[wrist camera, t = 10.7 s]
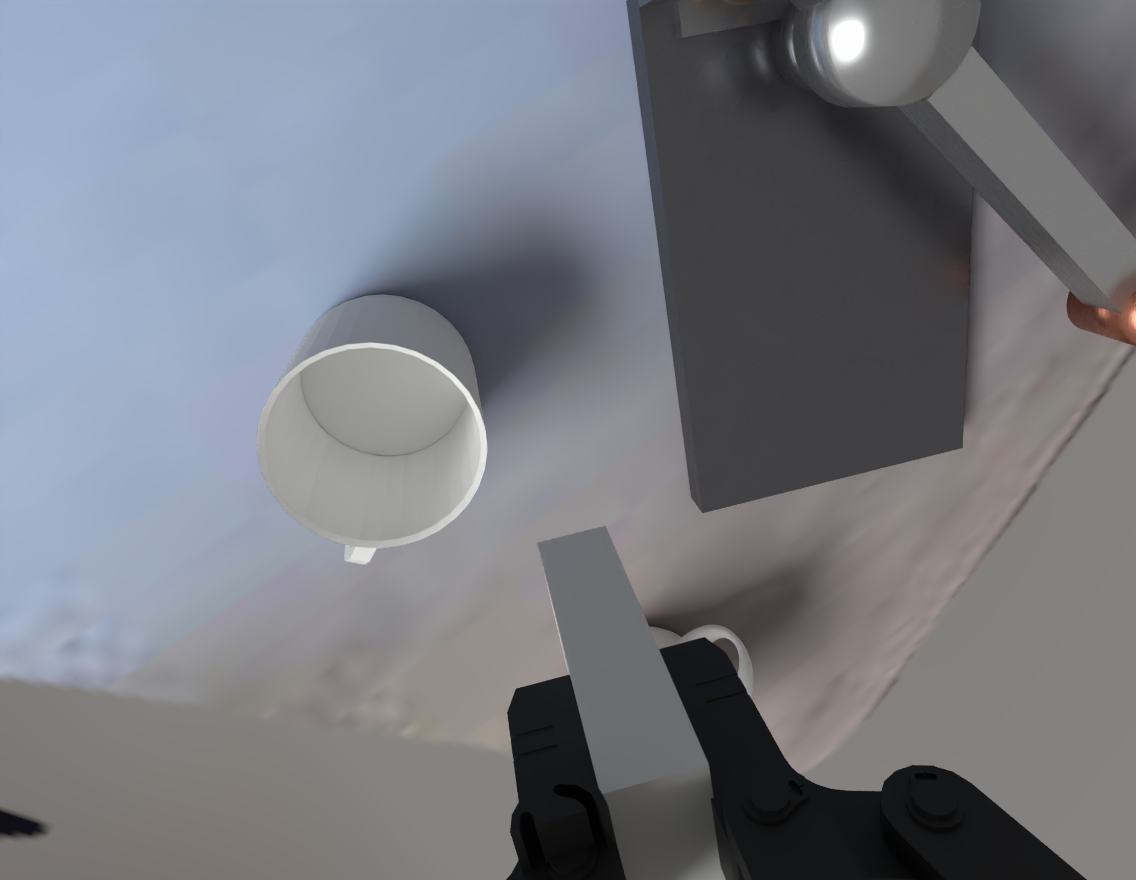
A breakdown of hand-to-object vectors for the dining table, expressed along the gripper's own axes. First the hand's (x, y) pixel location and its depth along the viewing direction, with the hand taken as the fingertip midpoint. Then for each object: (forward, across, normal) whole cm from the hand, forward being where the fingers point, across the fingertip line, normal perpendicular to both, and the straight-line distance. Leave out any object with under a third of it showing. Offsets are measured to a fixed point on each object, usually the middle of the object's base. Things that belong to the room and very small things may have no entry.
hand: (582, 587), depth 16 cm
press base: (+24, +17, +2) cm, 30 cm away
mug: (+25, -7, -3) cm, 26 cm away
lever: (+19, +22, +5) cm, 29 cm away
